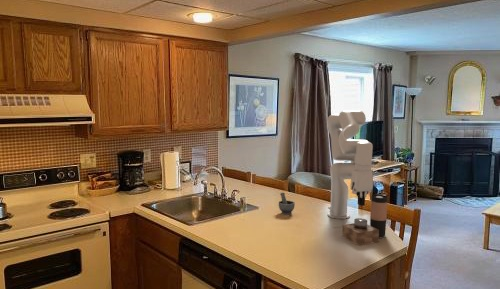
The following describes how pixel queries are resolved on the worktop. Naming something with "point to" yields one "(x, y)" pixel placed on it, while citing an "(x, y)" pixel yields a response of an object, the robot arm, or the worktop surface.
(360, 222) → the peg
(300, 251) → the worktop surface
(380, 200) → the travel mug
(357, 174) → the robot arm
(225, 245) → the worktop surface
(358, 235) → the block
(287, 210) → the mortar and pestle
